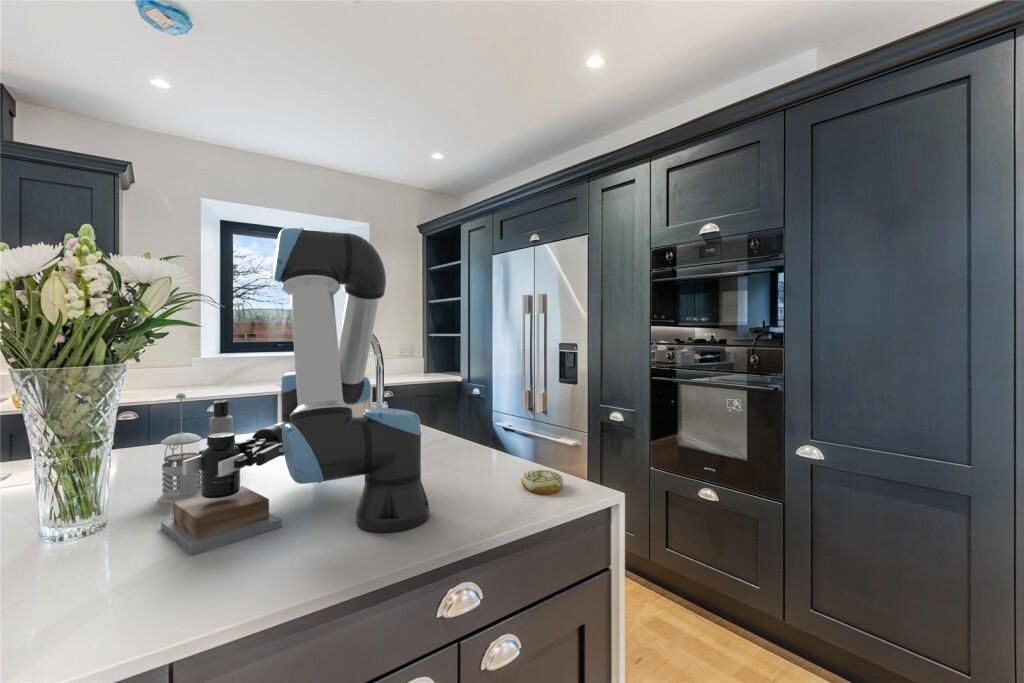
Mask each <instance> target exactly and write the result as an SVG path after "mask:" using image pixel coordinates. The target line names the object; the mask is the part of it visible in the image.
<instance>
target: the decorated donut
mask: <svg viewBox="0 0 1024 683" xmlns="http://www.w3.org/2000/svg"><path fill="white" fill-rule="evenodd" d="M563 480H564V478H563V476H562V475H560V473H558V472H555V471H552V470H545V469H539V470H538V469H537V470H530V471H526V472H525V473H523V474H522V475H521V476H520V481H521V482H520V483H521V484H522V487H523V488H524V490H526V491H528V492H531V493H533V494H537V495H538V494H539V495H552V494H555V493H558V492H559V491H560V489H561V488H562V486H563V482H564V481H563Z"/></svg>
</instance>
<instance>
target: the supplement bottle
mask: <svg viewBox="0 0 1024 683" xmlns="http://www.w3.org/2000/svg"><path fill="white" fill-rule="evenodd" d="M206 438H207V439H206V441H207V442H206V446H207V448H205V449H203V450H204V451H203V452H202V454H201V471H200V473H201V476H200V478H201V481H200V483H201V495H202V496H203V497H204V498H223V497H228V496H231V495H234V494H236V493H237V492H238V491H239V490H240V487H241V469H238V470H236V471H234V472H231V473H229V474H227V475H224V476H218V462H220V461H223V460H226V459H228V458H231V457H234V456H236V455H239V454H240V449H239V448H238V447H237V446H234V443H236V439H235V438H236V435H235V433H234V432H233V433H216V434H211V435H210V434H208V435H207V437H206Z"/></svg>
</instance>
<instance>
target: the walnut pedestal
mask: <svg viewBox="0 0 1024 683" xmlns="http://www.w3.org/2000/svg"><path fill="white" fill-rule="evenodd" d="M172 506H173V507H172V509H173V511H172V512H173V513H172V514H173V518H174V523H175V524H177V525H178V526H179V527H180V528H182V529H183V530H184V531H185V532H187V533H188V534H189V535H191V536H192V537H193V538H194V539H196V540H198V539H202V538H205V537H208V536H212V535H215V534H218V533H222V532H225V531H229V530H232V529H235V528H239V527H242V526H245V525H249V524H252V523H256V522H259V521H262V520H266V519H269V512H270V498H267V497H266V496H264V495H262V494H260V493H257V491H256V492H255V491H254V490H252V489H249V488H247V487H245V486H243V485H242V486H241V485H240V490H239V491H238V492H237V493H236V494H234V495H231V496H228V497H223V498H204V497H203V496H198V497H194V498H190V499H186V500H181V501H177V502H173V503H172Z"/></svg>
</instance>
